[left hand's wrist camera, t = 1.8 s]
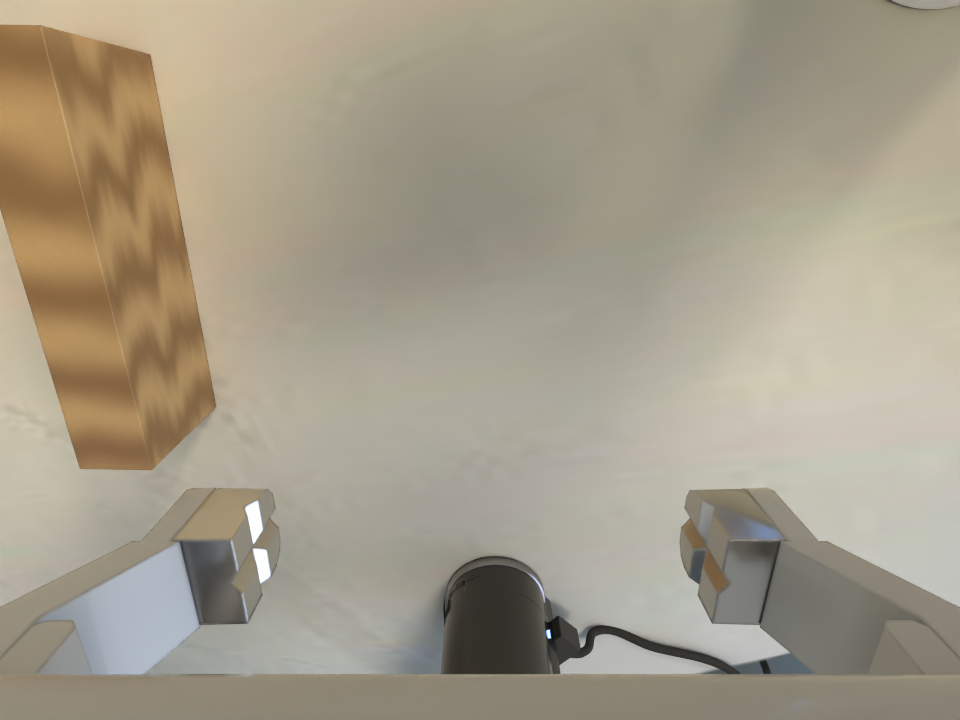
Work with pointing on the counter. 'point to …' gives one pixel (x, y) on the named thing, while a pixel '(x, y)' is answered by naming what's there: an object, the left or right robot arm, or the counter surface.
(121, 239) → the bar
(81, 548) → the counter surface
